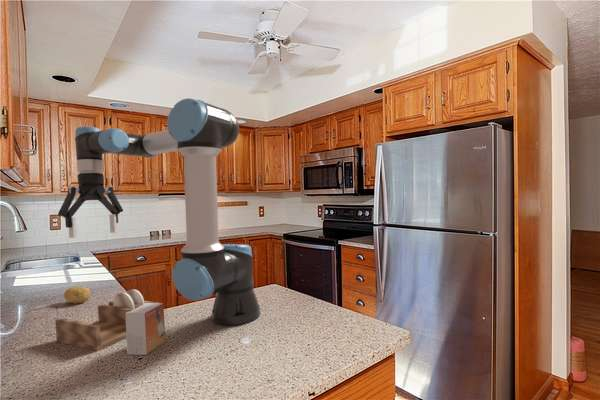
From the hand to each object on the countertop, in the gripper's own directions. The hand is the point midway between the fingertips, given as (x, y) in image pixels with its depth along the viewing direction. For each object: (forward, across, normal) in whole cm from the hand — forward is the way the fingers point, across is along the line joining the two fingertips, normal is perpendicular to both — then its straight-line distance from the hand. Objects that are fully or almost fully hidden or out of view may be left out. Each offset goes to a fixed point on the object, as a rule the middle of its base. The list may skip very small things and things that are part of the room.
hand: (94, 235), depth 112 cm
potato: (+28, -5, -22) cm, 36 cm away
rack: (+27, +7, +19) cm, 34 cm away
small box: (+28, +10, +39) cm, 49 cm away
